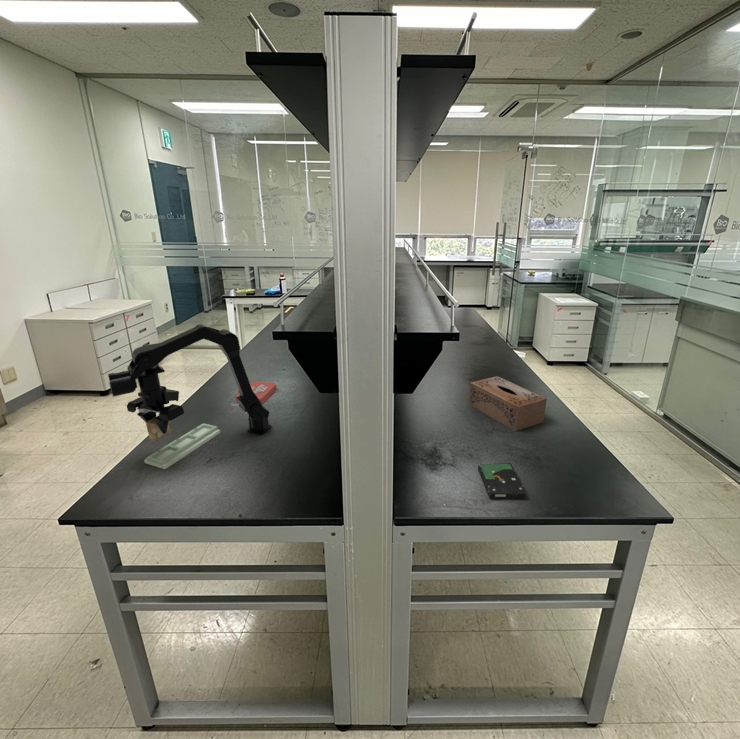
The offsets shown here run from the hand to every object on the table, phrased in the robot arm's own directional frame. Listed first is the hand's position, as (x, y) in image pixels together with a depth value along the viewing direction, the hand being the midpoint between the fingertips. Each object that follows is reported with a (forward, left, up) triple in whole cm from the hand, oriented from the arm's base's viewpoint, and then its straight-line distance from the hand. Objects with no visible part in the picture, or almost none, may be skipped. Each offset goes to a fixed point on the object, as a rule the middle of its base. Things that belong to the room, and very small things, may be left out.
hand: (160, 432), depth 135 cm
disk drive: (-103, -29, -11) cm, 108 cm away
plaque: (+5, -52, -11) cm, 53 cm away
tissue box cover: (-98, -76, -11) cm, 125 cm away
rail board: (0, -8, -10) cm, 13 cm away
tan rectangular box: (0, 0, -1) cm, 1 cm away
